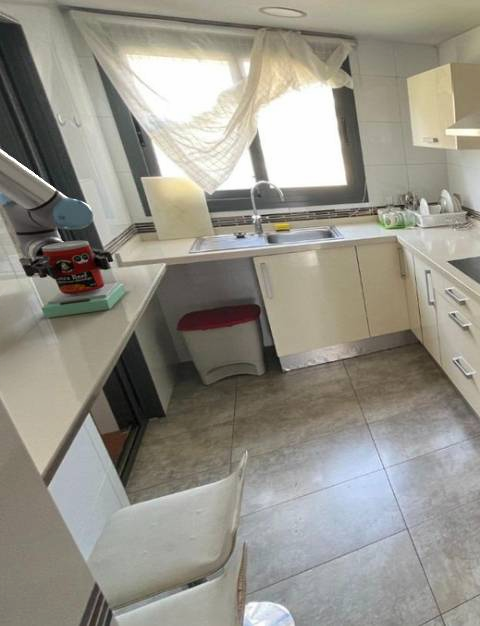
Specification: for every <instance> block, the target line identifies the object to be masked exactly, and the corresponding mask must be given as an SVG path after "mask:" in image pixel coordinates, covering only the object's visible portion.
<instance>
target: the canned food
mask: <svg viewBox="0 0 480 626" xmlns="http://www.w3.org/2000/svg"><path fill="white" fill-rule="evenodd" d="M91 248H92V247H91V245H90V243H89V241H88V240H68V241H63V242H60V243H54V244H50V245H46V246H43V247H42V251H43V253H44V256H45V258H46V260H47V262H48V264H50V265H52V266H53V267H54V269H55V271H56V273H57V275H58V279H54V280H55V282H56V284H57V287H58V289H59V291H60V292H62V293H64V294H79V293H85V292H90V291H94V290H97V289H100V288H102V287H103V286H104V284H105V280H104V278H103V275H102V272H101V270H100V268H99V267H98V265H97V262H96V260H95V257H94V255H93V252H92V250H91Z"/></svg>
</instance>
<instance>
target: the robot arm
mask: <svg viewBox="0 0 480 626" xmlns="http://www.w3.org/2000/svg"><path fill="white" fill-rule="evenodd" d="M0 202H1V204H2V205H1V207H2V208H3V209H4V211H5V213H6V215H7V217H8V219H9V221H10V224H11V225H12V228H13V230H14V232H15V236H16V238H17V240H18V242H19V249H20V251H21V253H22V255H23V256H24V257H21V258H19V259H18V261H19V263H20V265H21V267H22V269H23V272H24V273H25V275H26V277H33V276H35V274H38V276H39V278H40V279H44V278H48V277H50V278H51V279H53V280H55V279H58V275H57V273H56V271H55V269H54V267H53V266H52V265H50V264H48V262H47V260H46V258H45V256H44V253H43V251H42V247H43V246H46V245H50V244H54V243H60V242H64V241H63V240H62V238H61V235H60V233H59V231H58V229H59V230H65V231H66V230H69V231H71V230H80V229H84V228H86V227H88V226H90V225H91V224H92V222H93V219H94V213H93V210H92V208H91V207H90V206H89V204H88V203H86V202H84V201H82V200H79V199H75V198H72V197H67V196H66V195H65V194H63V193H62V192H61V191H59V190H58V189H56V188H55V187H53V186H52V185H50V183H48V182H46V181H45V180H44V179H43V178H41V177H39V176H38V175H37V174H35V173H34V172H33V171H32V170H30V169H29V168H27V167H26V166H25V165H23V164H22V163H20V162H19V161H17V160H16V159H15V158H14V157H12V156H11V155H9V154H8V153H7V152H5V151H4V150H2V149H1V148H0ZM91 250H92V252H93V255H94V257H95V260H96V262H97V265H98V267H99V269H101V270H104V271H107V270H109V267H108V264H109V263H112V262H114V258H113V256H112V253H111V251H108V250H103V249H98V248H96V247H91Z"/></svg>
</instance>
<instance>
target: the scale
mask: <svg viewBox="0 0 480 626" xmlns="http://www.w3.org/2000/svg"><path fill="white" fill-rule="evenodd" d="M125 294H126V291H125V288H124V285H123V283H119V282H113V283H104V286H103V287H102V288H100V289H97V290H94V291H90V292H85V293H79V294H64V293H62V292H61V291H60V292H59V293H58V294H56V295H55V296H54V297H52V298H51V299H50V300H48V301H47V303H46V304H45V305H43V306H42V307H41V310H42V313H43V316H44V317H45V319H48V318H55V317H61V316H62V317H63V316H70V315H71V316H72V315H76V314H77V315H78V314H84V313H85V314H86V313H93V312H99V311H106V310H107V311H108V310H111V309H112V308H113V307H114V306H115V304H116V303H118V301H119V300H120V299H121V298H122V297H123V296H124V295H125Z"/></svg>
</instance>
